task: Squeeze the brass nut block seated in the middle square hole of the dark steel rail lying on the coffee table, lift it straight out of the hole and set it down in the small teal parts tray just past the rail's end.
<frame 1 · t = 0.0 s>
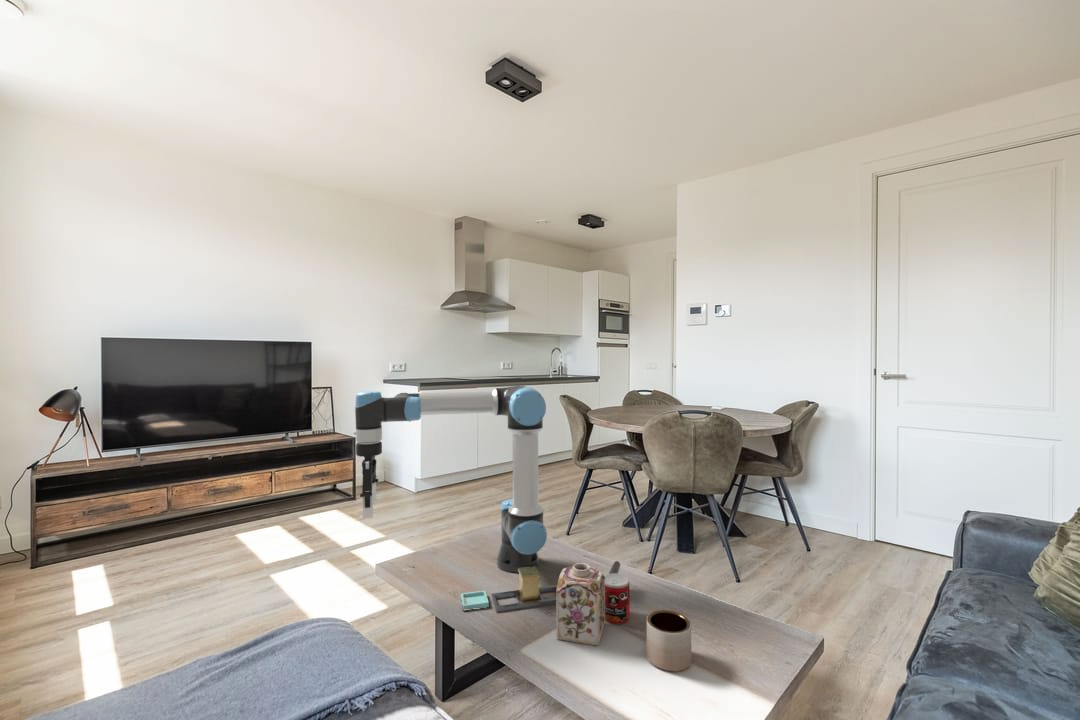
hand: (369, 510, 150), 28 cm above the table, fingers open, 13 cm apart
portable electronic device stand: (609, 592, 154), on the table
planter: (668, 659, 121), on the table
canned food: (616, 617, 140), on the table
nut block: (528, 585, 150), in the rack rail
parts tray: (474, 603, 148), on the table
decorative jar: (581, 631, 133), on the table
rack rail: (529, 599, 150), on the table
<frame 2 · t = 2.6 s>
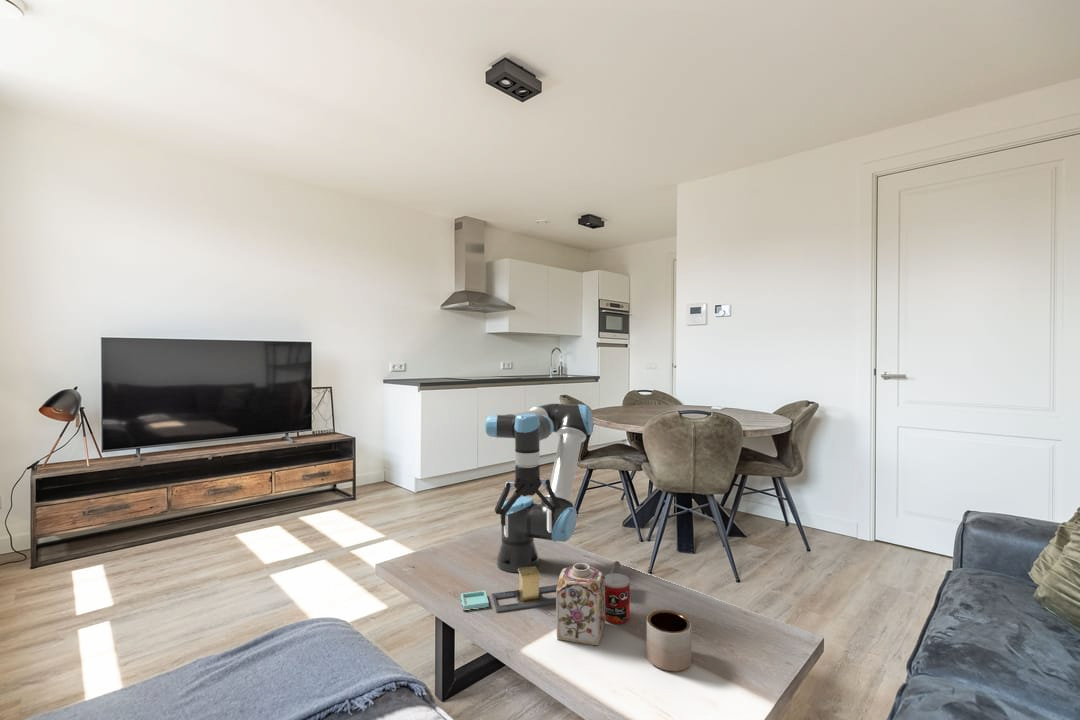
hand: (527, 533, 149), 21 cm above the table, fingers open, 13 cm apart
nothing on the table moved.
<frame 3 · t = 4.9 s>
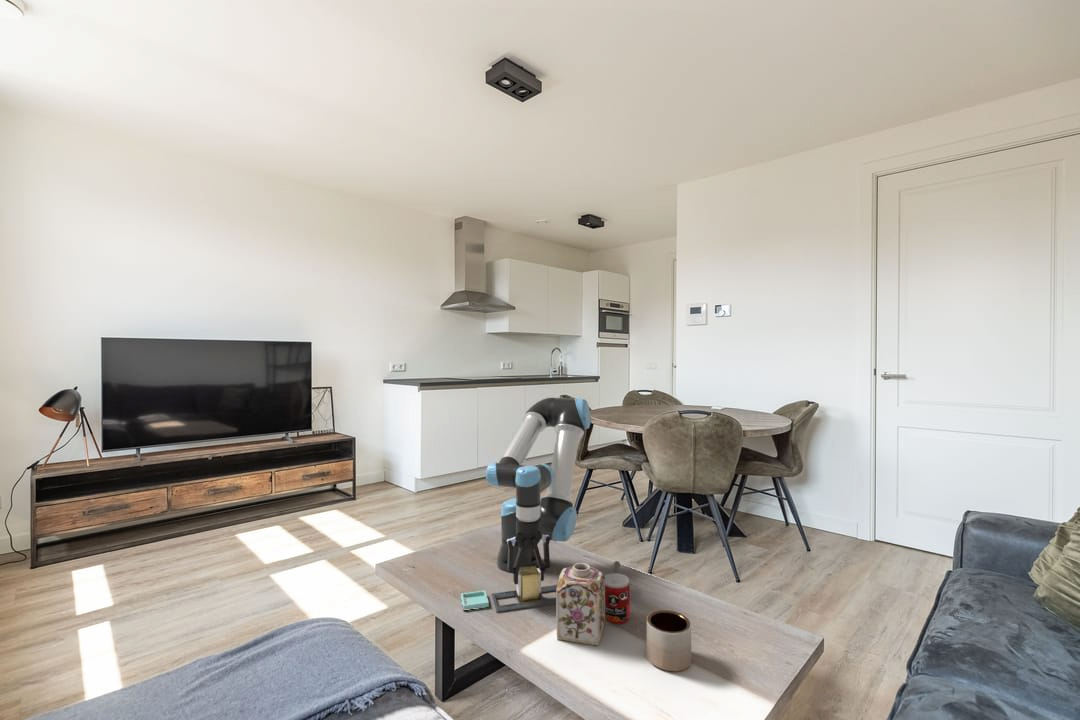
hand: (528, 592, 150), 2 cm above the table, fingers closed on nut block, 6 cm apart
nut block: (528, 585, 150), in the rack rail, touching gripper
everything else where it was.
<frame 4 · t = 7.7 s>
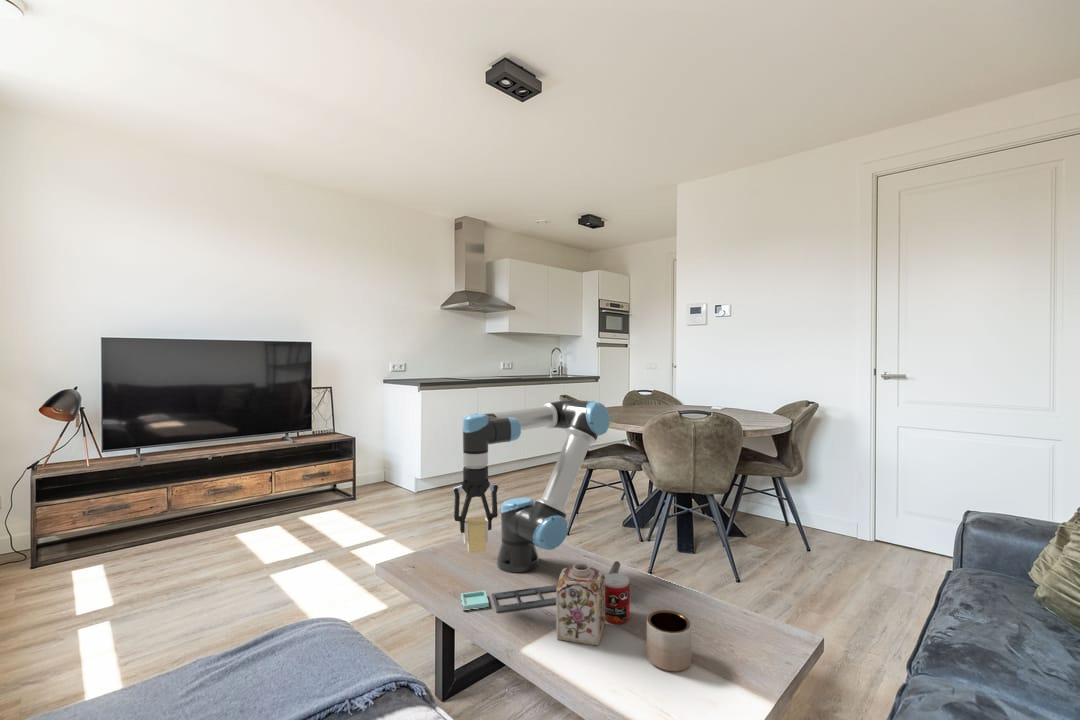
hand: (475, 541, 148), 19 cm above the table, fingers closed on nut block, 6 cm apart
nut block: (476, 534, 147), point 21 cm above the table, touching gripper
everything else where it was.
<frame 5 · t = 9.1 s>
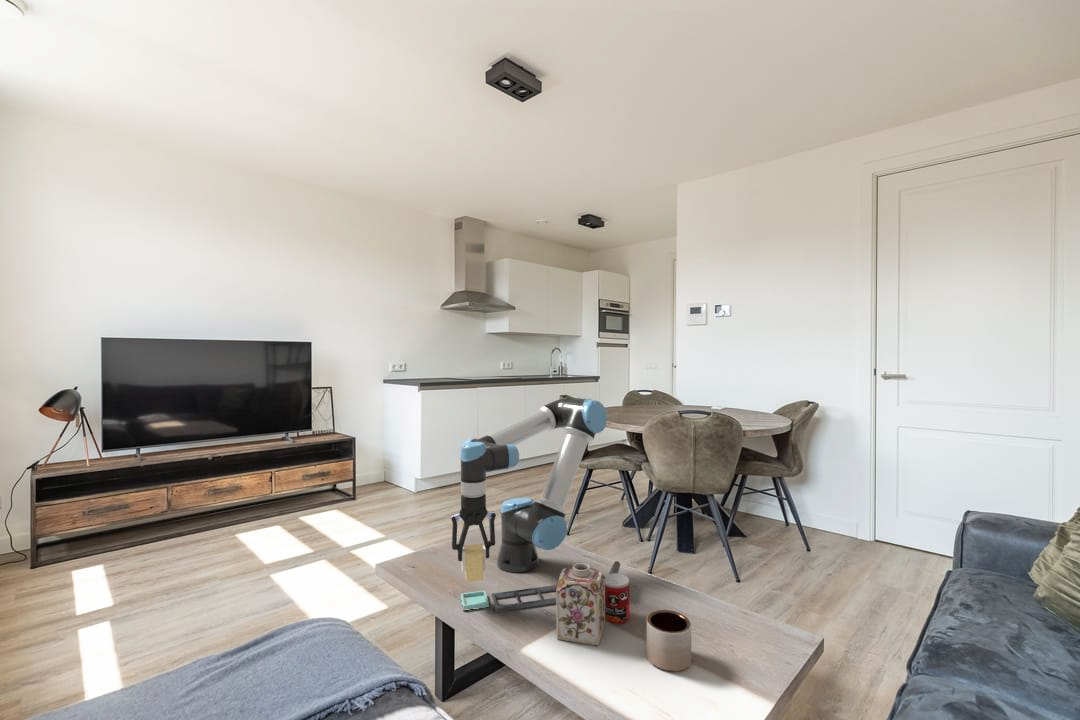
hand: (473, 569, 148), 10 cm above the table, fingers closed on nut block, 6 cm apart
nut block: (473, 562, 148), point 12 cm above the table, touching gripper
everything else where it was.
when the fingers open (4 cm above the table, at t = 10.4 s): nut block drops 1 cm, resting on parts tray.
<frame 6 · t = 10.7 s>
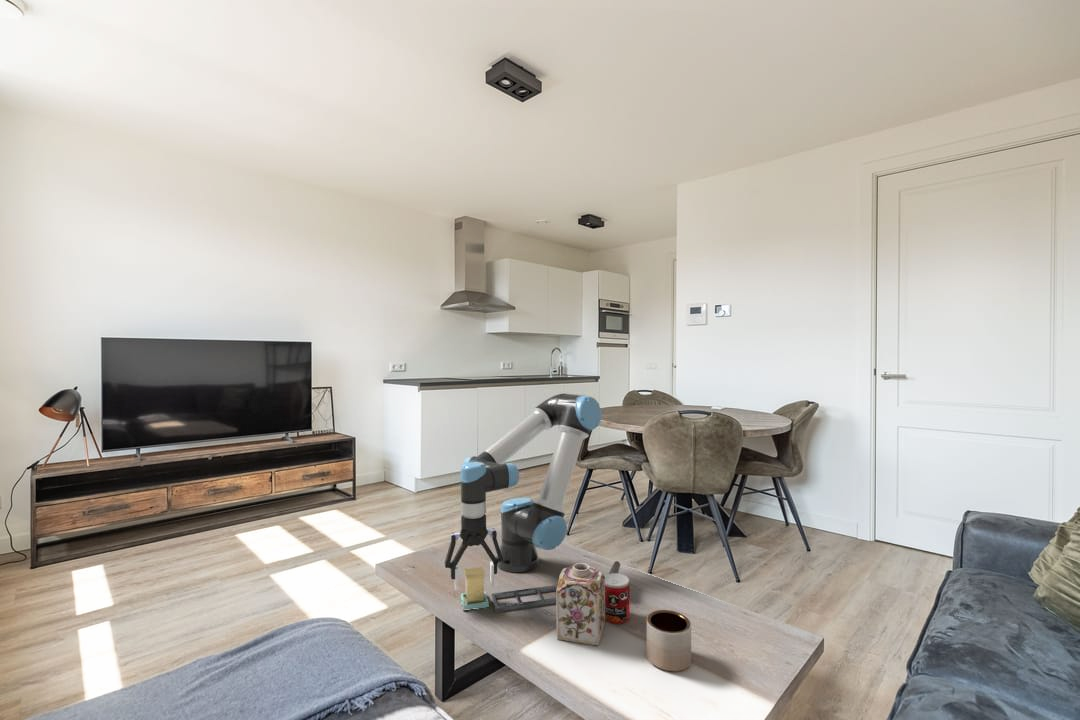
hand: (474, 586, 148), 5 cm above the table, fingers open, 10 cm apart
nut block: (474, 586, 148), in the parts tray, point 5 cm above the table
everything else where it was.
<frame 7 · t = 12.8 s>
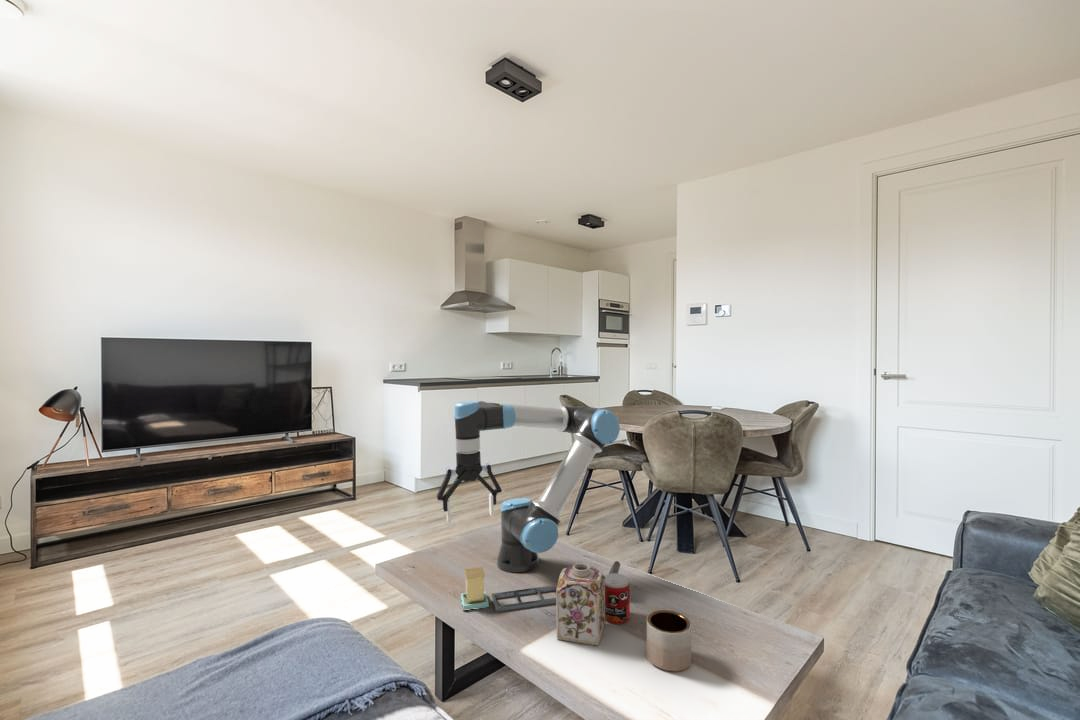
hand: (470, 518, 153), 24 cm above the table, fingers open, 13 cm apart
nothing on the table moved.
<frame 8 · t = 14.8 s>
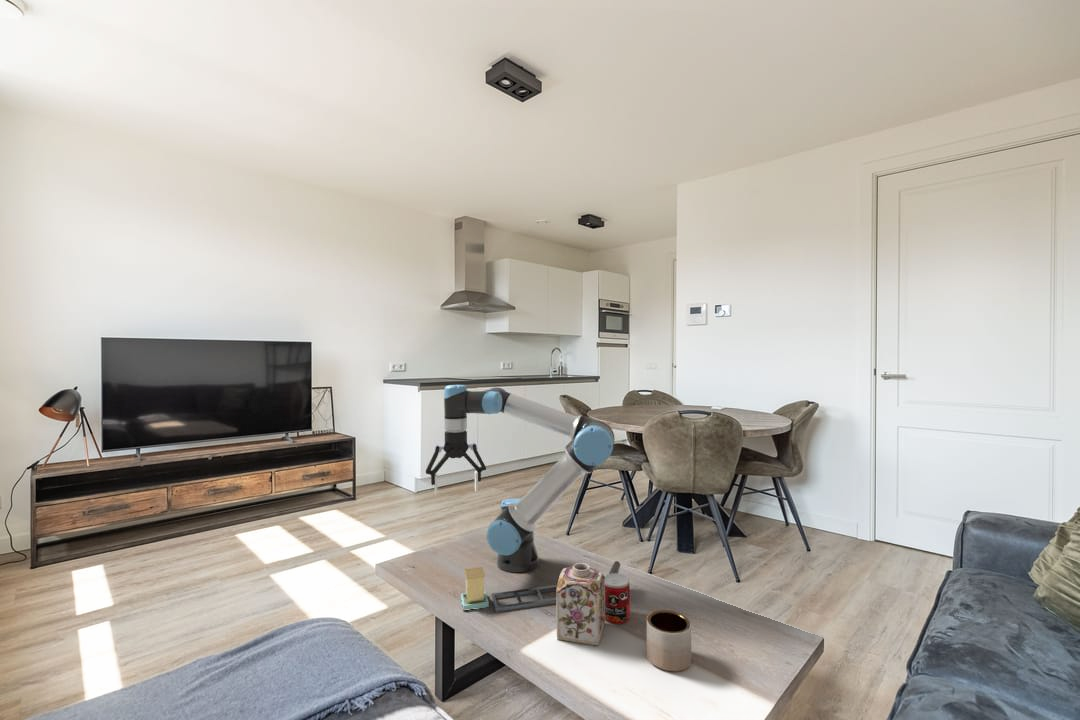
hand: (456, 492, 165), 29 cm above the table, fingers open, 13 cm apart
nothing on the table moved.
at the end: nut block 0.1 cm off-centre on the parts tray, point 5.1 cm above the parts tray's base; nut block tilted 0°; the gripper is holding nothing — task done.
